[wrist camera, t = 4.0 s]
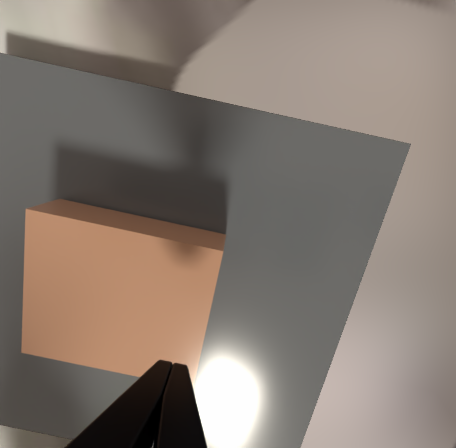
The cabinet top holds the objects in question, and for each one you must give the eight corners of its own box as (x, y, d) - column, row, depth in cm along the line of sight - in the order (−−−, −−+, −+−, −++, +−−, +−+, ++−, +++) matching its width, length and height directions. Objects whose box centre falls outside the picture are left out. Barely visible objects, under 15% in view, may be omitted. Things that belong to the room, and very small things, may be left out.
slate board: (399, 143, 12) (410, 144, 11) (285, 467, 17) (287, 483, 16) (9, 57, 12) (-8, 51, 11) (4, 410, 16) (-7, 423, 16)
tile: (223, 251, 10) (25, 208, 10) (193, 388, 12) (21, 352, 12) (226, 233, 12) (62, 198, 12) (200, 351, 14) (54, 321, 14)
